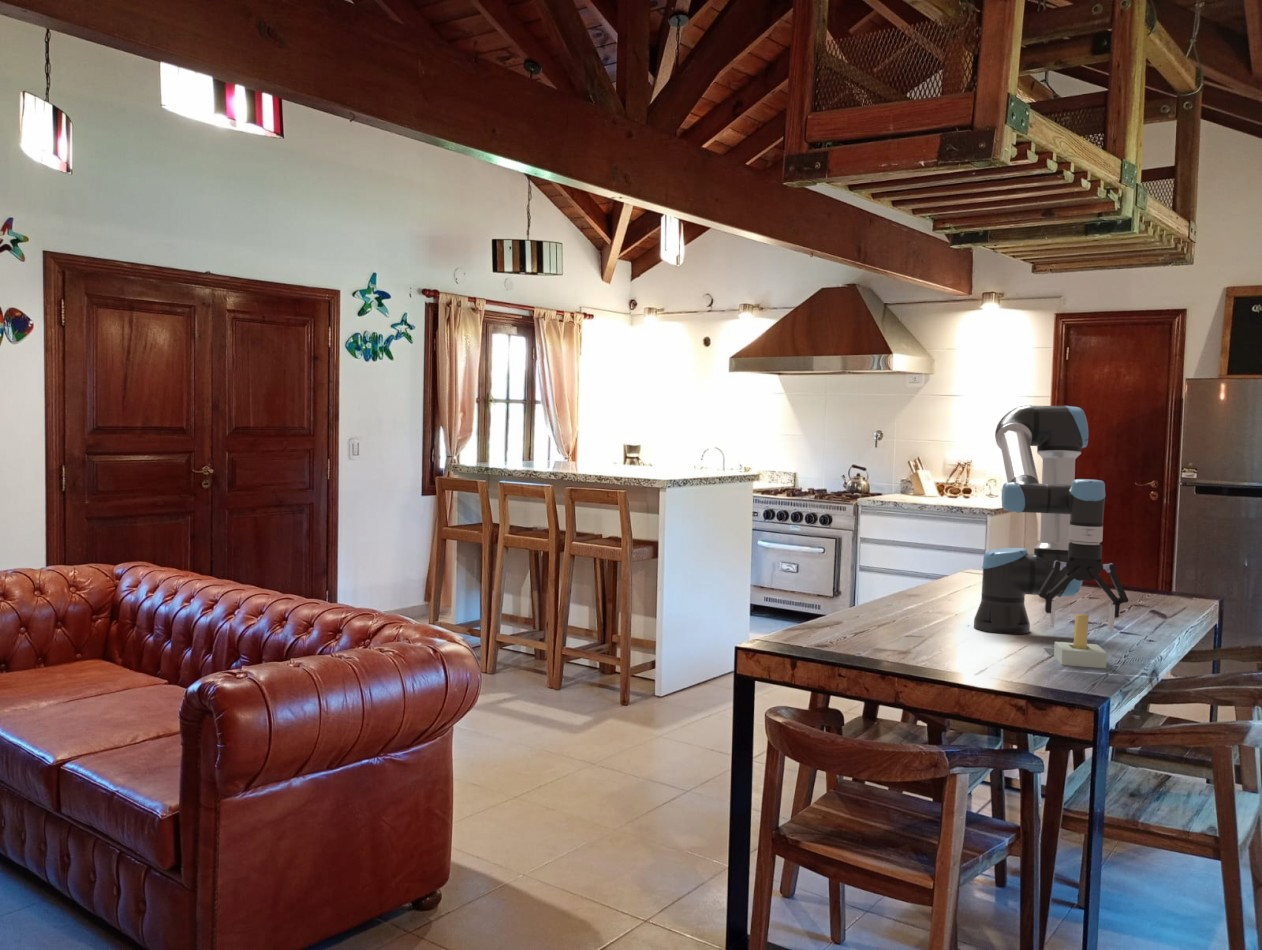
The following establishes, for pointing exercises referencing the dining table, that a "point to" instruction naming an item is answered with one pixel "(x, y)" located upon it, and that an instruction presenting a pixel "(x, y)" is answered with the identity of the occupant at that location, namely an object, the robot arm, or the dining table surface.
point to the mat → (1049, 651)
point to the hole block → (1080, 655)
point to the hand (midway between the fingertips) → (1080, 628)
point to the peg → (1080, 631)
